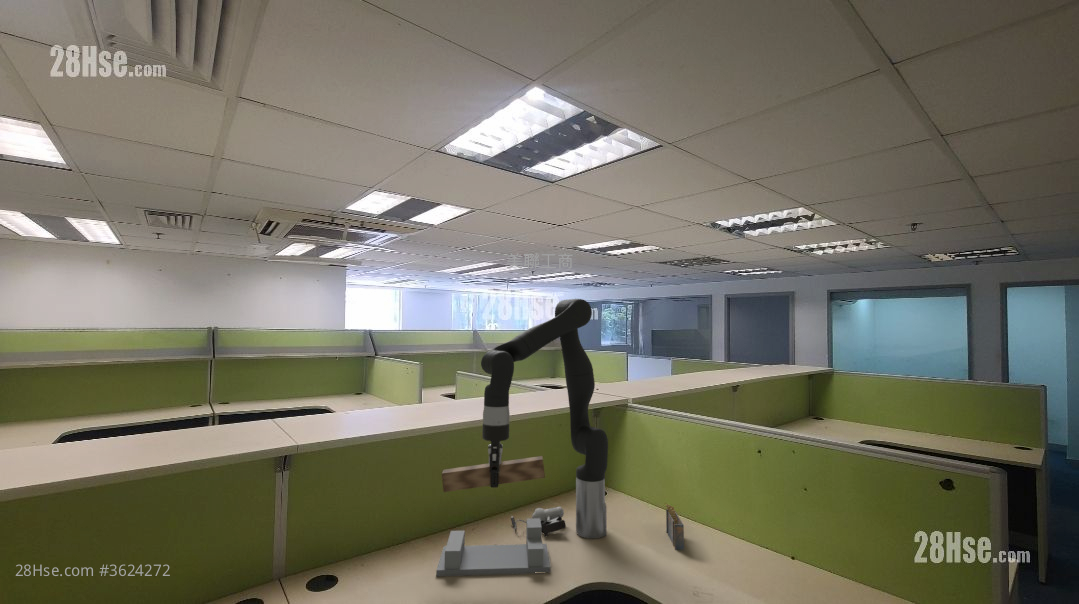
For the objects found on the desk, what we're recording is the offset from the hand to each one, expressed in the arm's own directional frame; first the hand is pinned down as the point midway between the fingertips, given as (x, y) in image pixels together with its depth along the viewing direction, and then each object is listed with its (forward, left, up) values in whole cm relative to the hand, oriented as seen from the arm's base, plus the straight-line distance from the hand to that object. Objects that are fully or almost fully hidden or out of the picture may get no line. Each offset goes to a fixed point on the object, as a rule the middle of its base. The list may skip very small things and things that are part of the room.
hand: (494, 484), depth 122 cm
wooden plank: (0, 0, 0) cm, 0 cm away
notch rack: (0, -1, -21) cm, 21 cm away
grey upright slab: (-55, -11, -22) cm, 61 cm away
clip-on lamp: (-14, -22, -22) cm, 34 cm away
